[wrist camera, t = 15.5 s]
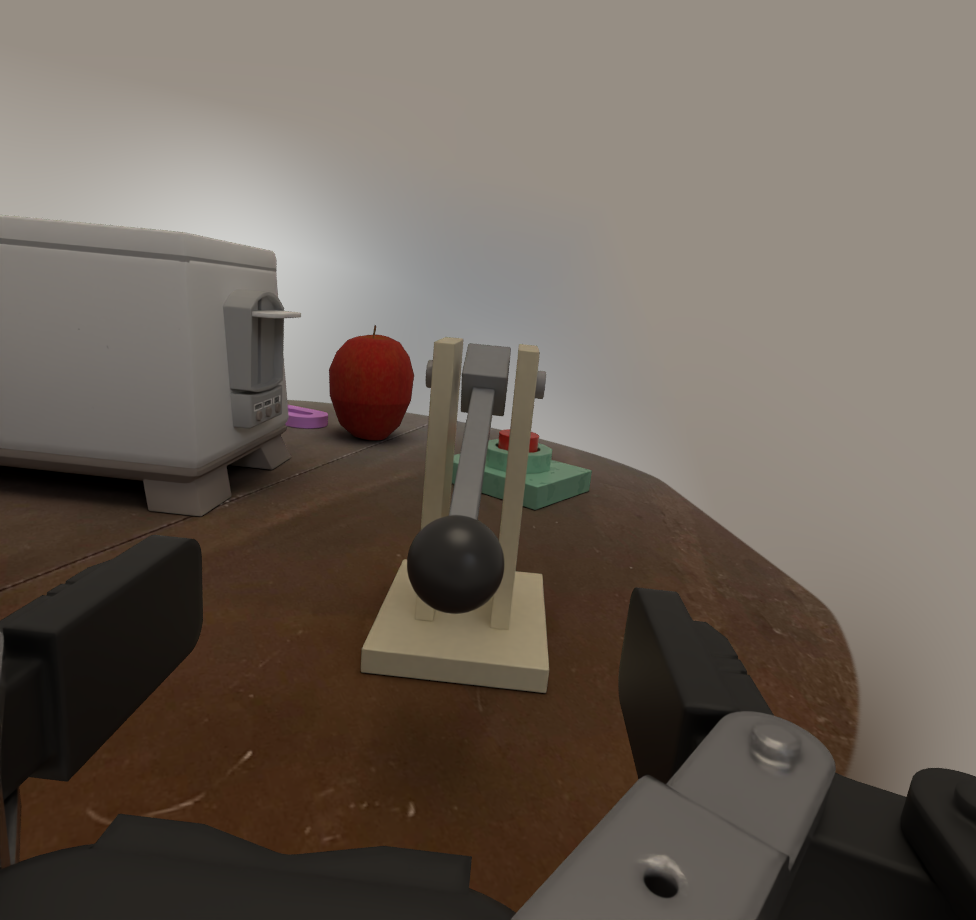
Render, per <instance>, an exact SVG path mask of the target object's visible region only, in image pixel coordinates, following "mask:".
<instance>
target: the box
mask: <svg viewBox="0 0 976 920" xmlns="http://www.w3.org/2000/svg"><path fill="white" fill-rule="evenodd" d="M498 441H499V439H495V440H489V442H488V449H487V456H486V463H485V470H484V478H483V485H482V492H481V493H484V494H487V495H490V496H493V497H496V498H500V499H503V495H504V486H505V476H506V466H507V457H508V451H507V450H503V449H499V448H498ZM551 457H552V449H551V448H549V447H547V446H545V445H543V444H539V443H538V451H537V452H534V453H528V462H527V471H526V480H525V489H524V498H523V506H524V507H528V508H531V509H534V510H536V509H539V508H542V507H545V506H548V505H550V504H553V503H556V502H559V501H562V500H565V499H567V498H570V497H573V496H576V495H579V494H581V493H584V492H587V491H589V488H590V480H591V473H592V471H591V470H588V469H584V468H580V467H576V466H573V465H569V464H565V463H561V462H557V461H553V460H551ZM459 458H460V454H457V455H454V461H453V473H452V483H453V484H455V479H456V474H457V468H458V463H459Z"/></svg>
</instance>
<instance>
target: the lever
mask: <svg viewBox="0 0 976 920" xmlns="http://www.w3.org/2000/svg"><path fill="white" fill-rule="evenodd" d="M510 352H511V348H510V347H501V346H490V345H481V344H471V343H470V344H468V349H467V353H466V358H465V362H464V367H463V372H462V390H461V412H466V413H468V415H467V420H466V426H465V431H464V436H463V442H462V447H461V452H460V458H459V463H458V468H457V474H456V479H455V484H454V490H453V495H452V500H451V506H450V511H449V516H445V517H441V518H438V519H436V520H434V521H432V522H431V523H429V524H428V525H426V526H425V527H424V528H423V529H422V530H421V531H420V532H419V533H418V534H417V536H416V537H415V538H414V540H413V542H412V544H411V546H410V549H409V553H408V558H407V572H408V577H409V580H410V583H411V586H412V588H413V590H414V591H415V593H416V594H417V595H418V597H419V598H420V599H421V600H422V601H423V602H424V603H426V604H427V605H428V606H430V607H431V608H433V609H435V610H438V611H440V612H444V613H449V614H461V613H467V612H470V611H473V610H476V609H478V608H479V607H481V606H483V605H484V604H485V603H487V602H488V601H489V600H490V599H491V598H492V597H493V595H494V594H495V593H496V591H497V590H498V588H499V586H500V584H501V581H502V578H503V574H504V554H503V550H502V547H501V545H500V542H499V540H498V539H497V537H496V536H495V534H494V533H493V532H492V531H491V530H490V529H489V528H488V527H487V526H486V525H485V524H483V523H482V522H480V521H478V514H479V506H480V499H481V492H482V485H483V478H484V470H485V463H486V456H487V449H488V442H489V435H490V427H491V420H492V415H496V416H503V415H504V409H505V401H506V392H507V384H508V373H509V363H510Z"/></svg>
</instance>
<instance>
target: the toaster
mask: <svg viewBox="0 0 976 920" xmlns="http://www.w3.org/2000/svg"><path fill="white" fill-rule="evenodd" d="M294 317H295V318H296V317H301V313H298V312H288V311H284V307H283V305H282V303H281V302H280V300H279V298H278V291H277V279H276V257H275V254H274V252H273V251H270V250H265V249H260V248H255V247H251V246H246V245H241V244H236V243H232V242H227V241H222V240H217V239H212V238H208V237H203V236H199V235H194V234H189V233H184V232H175V231H166V230H155V229H145V228H134V227H123V226H113V225H102V224H91V223H81V222H71V221H60V220H49V219H38V218H28V217H18V216H7V215H0V465H1V466H10V467H20V468H29V469H38V470H48V471H57V472H66V473H75V474H85V475H94V476H103V477H113V478H122V479H131V480H141V481H143V483H144V489H145V494H146V500H147V505H148V510H149V511H156V512H165V513H174V514H183V515H192V516H202V515H204V514H206V513H207V512H209V511H210V510H212V509H213V508H215V507H216V506H218V505H219V504H221V503H222V502H224V501H225V500H227V499H228V498H230V497H231V490H230V484H229V479H228V473H227V465H229V464H230V465H233V466H242V467H252V468H261V469H270V470H272V469H274V468H275V467H277V466H279V465H280V464H282V463H283V462H285V461H286V460H288V459H289V458H291V456H290V454H289V451H288V449H287V447H286V445H285V443H284V441H283V439H282V437H281V434H282V433H283V432H285V431H286V429H287V426H286V425H285V424H286V422H287V421H288V417H289V414H288V403H287V392H286V381H285V369H284V358H283V337H284V333H283V332H284V318H294Z"/></svg>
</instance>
